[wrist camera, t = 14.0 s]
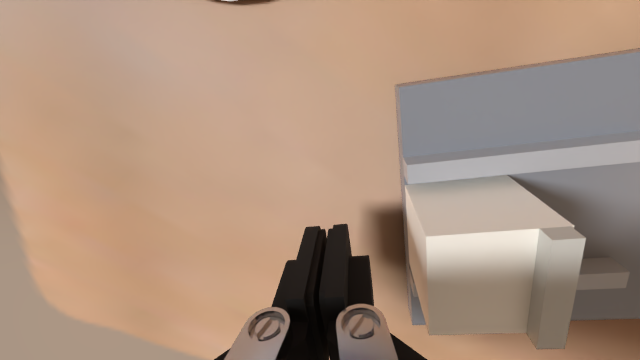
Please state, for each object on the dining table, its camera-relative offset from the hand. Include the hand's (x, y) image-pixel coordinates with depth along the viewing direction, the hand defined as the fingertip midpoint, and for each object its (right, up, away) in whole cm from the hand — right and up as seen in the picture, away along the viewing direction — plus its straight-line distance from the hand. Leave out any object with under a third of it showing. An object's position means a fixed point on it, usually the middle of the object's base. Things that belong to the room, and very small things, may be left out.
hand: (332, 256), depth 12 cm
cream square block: (+5, +1, +1) cm, 6 cm away
